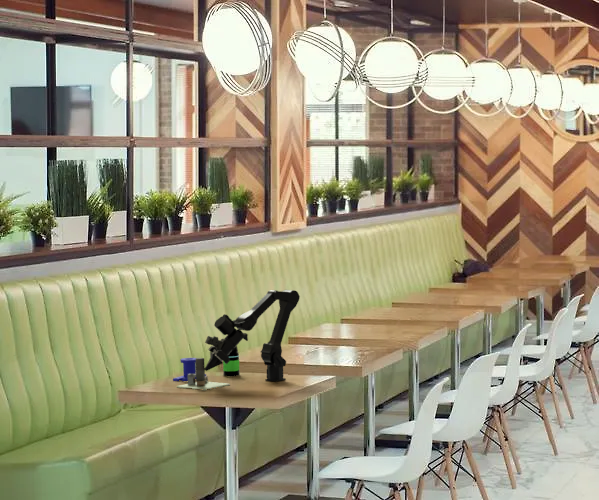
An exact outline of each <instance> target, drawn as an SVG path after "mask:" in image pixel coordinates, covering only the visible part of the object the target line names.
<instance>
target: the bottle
mask: <svg viewBox="0 0 599 500" xmlns="http://www.w3.org/2000/svg"><path fill="white" fill-rule="evenodd" d="M239 354H240V353H239V349H238V345H237V346H236V347H235V350H234V351H233V350H232V351H231V352H230V354H229V355H228V357H229V358H230V361H229V362H228V363H227V364H226V363H225V362H224V361H222V362H223V364H222V366H223V367H222V371H223V374H222V375H223V376H224V377H238V376H240V375H241V374H240V356H239Z"/></svg>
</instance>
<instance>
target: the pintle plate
mask: <svg viewBox="0 0 599 500" xmlns="http://www.w3.org/2000/svg"><path fill="white" fill-rule="evenodd" d="M230 385H231V384H230V383H225V382H216V381H214V382H213V381H208V382H206V383H205V385H204V386H197V381H195V385H188V383H185V384H179V385H176V388H179V389H186V388H192V389H191V390H195V389H203V390H202V391H207V390H206V389H210V390H212V389H211V388H214V389H217V388H216V387H219V388H223V386H224V387H228V386H230Z"/></svg>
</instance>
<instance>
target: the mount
mask: <svg viewBox="0 0 599 500" xmlns="http://www.w3.org/2000/svg"><path fill="white" fill-rule="evenodd" d="M196 358H197V357H184V358H180V363H181V364H182V367H183V368H182V369H183V370H182V371H183V375H180V376H177V377H173V379H172V381H173V382H180V381H179V380H181V382H182V381H188V376H187V375H188V374H196ZM205 376H207V374H206V373H205ZM195 379H196V377H195Z"/></svg>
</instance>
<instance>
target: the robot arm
mask: <svg viewBox="0 0 599 500" xmlns="http://www.w3.org/2000/svg"><path fill="white" fill-rule="evenodd" d="M299 294H300V293H299V292H298V291H296V290H293V289H284V290H281V291H279V290H275V289H270V290H269V291H267V293H266V294H265V295H264V296H263V297H262V298H260V300H259V301H258V302H256V304H254V305H253V307H252V308H251V309H249V310H247V311H246V312H244V313H242V314H241V315H239V316H238V317H236V319H234V320H232V319H231V318H230V316H229V315H228V314H226V313H225V314H223V315H222V316H220V317H219V318H217V319H216V320H215V321H214V325H213V326H214V327H215V328H216V329H217V330H218V331H219V332H220V333H221V334H222V335H223V336H225V338H224V337H223V338H221V339H220V340H219V337H218V336H215V335H214V336H210V335H208V336H207V337H206V340H205V342H204V343H206V344H207V345H211V346H210V347H208V349H207V350H208V351H209V355H210V356H209V357H210V358H209V360H208V362H207V363H206V365H205V371H206V372H207V371H210V370H212V369H213V368H216V367H218V366H220V365H223V361H224V362H225V363H226V364H227V363H228V362H229V361H230V358H229V357H228V355H229V354H230V352H231V351H232V350H233V351H234V350H235V347H236V346H237V347H238V344H240V343H241V341H242V340H245V341H246V342H248V340H249V337H248V336H249V334H248V333H246V332H250V331H251V330H253V329H254V327H255V326H256V325H257V322H258V319H259V318H260V317H261V316H262V315H263V314H264V313H265V312H266V311H267V310H268V309H269V308H270V307H271V306H272V305H273V304H274V303H275V302H276V301H277V300H278V304H279V305H278V306H279V310H278V314H277V318H276V319H275V322H274V326H273V329H272V332H271V336H270V339H269V341H268V342H267V343H266V342H265V343H263V345H262V348H261V351H260V357H261V359H262V361H263V363H264V366H266V378H265V379H264V380H265V381H268V382H281V381H285V380H287V379H286V378H285V377H284V367H286V364H287V360H286V359H284V357H283V356H282V352H283V349H282V341H283V338H284V335H285V332H286V329H287V326H288V322H289V319H290V316H291V313H292V311H294V309H295V308H296V307H297V305H298V304H299V301H300V297H301V296H300V295H299ZM236 328H237V329H236ZM243 331H244V332H243Z"/></svg>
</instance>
